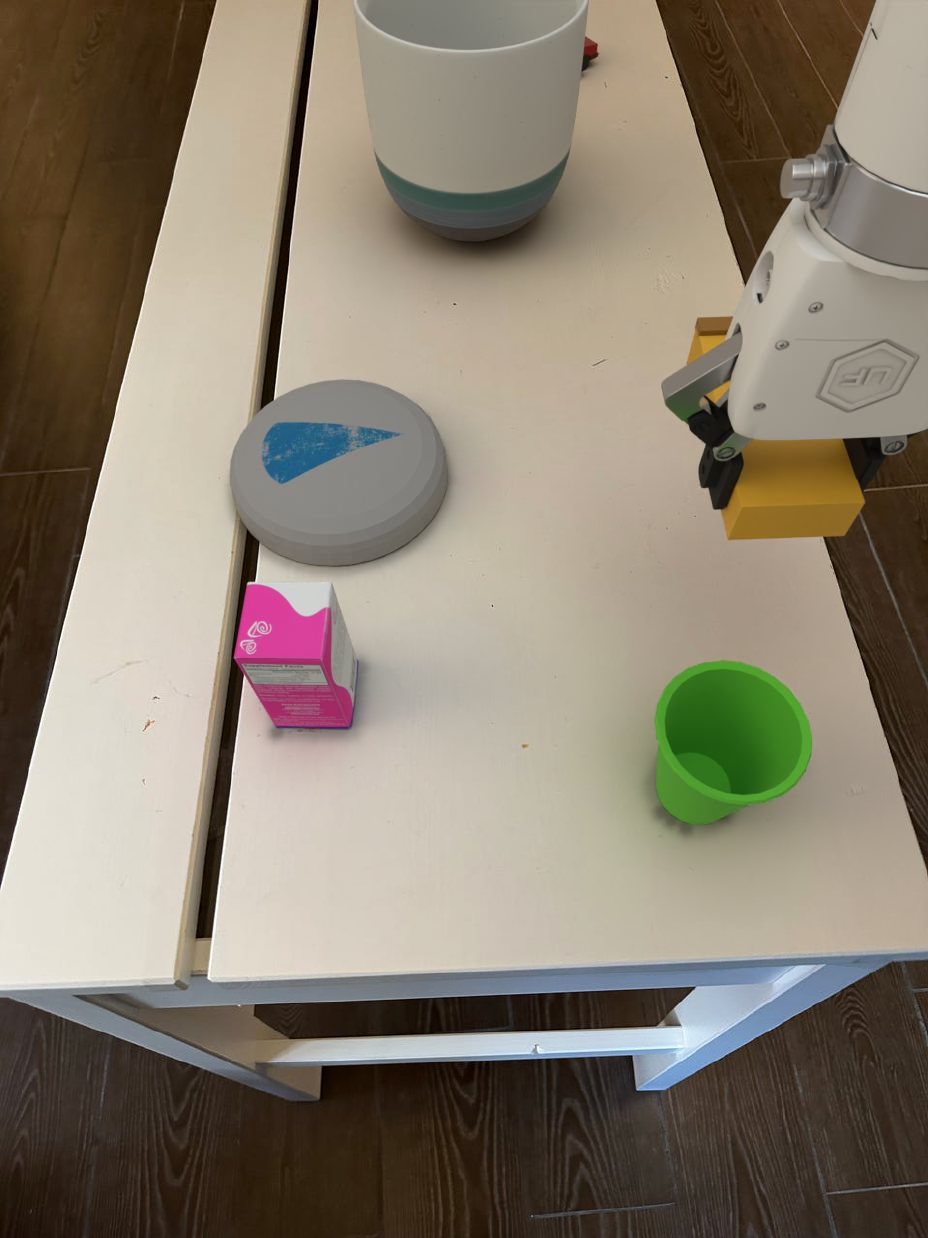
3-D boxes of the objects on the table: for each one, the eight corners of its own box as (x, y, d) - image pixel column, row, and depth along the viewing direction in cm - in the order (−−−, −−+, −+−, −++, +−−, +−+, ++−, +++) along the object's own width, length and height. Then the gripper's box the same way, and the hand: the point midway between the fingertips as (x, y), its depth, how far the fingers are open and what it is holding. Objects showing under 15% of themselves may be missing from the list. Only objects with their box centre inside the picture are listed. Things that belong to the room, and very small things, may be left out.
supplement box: (282, 659, 64) (246, 577, 54) (359, 660, 64) (338, 579, 54) (271, 729, 61) (231, 657, 51) (352, 731, 61) (327, 659, 51)
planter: (579, 273, 86) (606, 44, 67) (380, 285, 86) (352, 57, 67) (555, 156, 96) (573, -70, 78) (377, 166, 96) (352, -59, 77)
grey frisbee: (465, 547, 69) (464, 509, 65) (240, 584, 68) (223, 548, 63) (429, 387, 78) (426, 345, 74) (229, 416, 77) (214, 375, 72)
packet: (844, 536, 47) (868, 497, 44) (727, 540, 47) (743, 501, 44) (787, 356, 54) (804, 312, 51) (685, 360, 54) (697, 316, 51)
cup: (615, 736, 61) (640, 667, 51) (738, 722, 61) (786, 651, 51) (642, 861, 56) (675, 811, 46) (775, 846, 56) (835, 793, 47)
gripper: (707, 257, 30) (632, 547, 46) (1191, 239, 30) (952, 535, 46) (675, 138, 34) (616, 443, 49) (1104, 122, 34) (911, 432, 49)
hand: (778, 485), depth 47 cm, fingers closed on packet, 6 cm apart
